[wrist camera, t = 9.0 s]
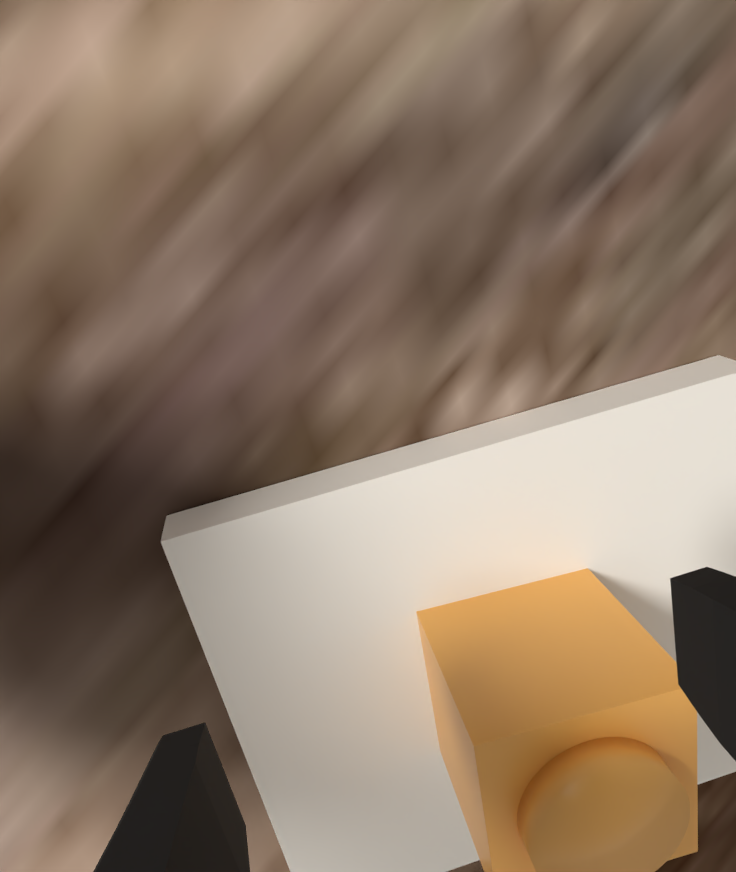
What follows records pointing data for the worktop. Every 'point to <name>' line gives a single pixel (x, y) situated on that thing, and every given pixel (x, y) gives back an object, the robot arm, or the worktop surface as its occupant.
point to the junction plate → (439, 593)
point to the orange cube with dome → (562, 729)
